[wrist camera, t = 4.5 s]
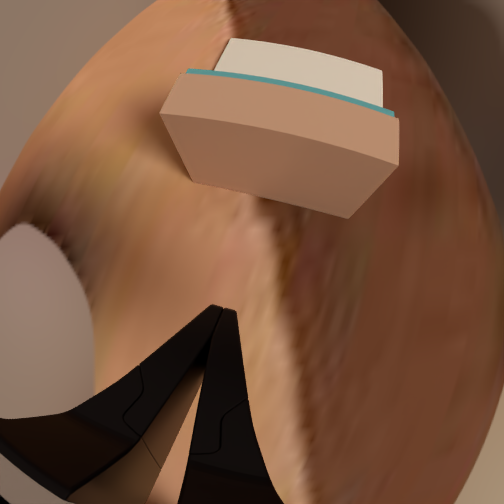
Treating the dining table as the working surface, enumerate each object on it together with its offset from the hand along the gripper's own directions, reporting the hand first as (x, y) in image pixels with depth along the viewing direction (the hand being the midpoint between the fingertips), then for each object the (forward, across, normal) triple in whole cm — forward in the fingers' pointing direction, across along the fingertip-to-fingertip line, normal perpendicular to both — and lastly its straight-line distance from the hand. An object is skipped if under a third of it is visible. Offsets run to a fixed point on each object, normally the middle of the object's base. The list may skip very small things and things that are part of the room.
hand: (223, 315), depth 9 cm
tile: (+15, 0, +1) cm, 15 cm away
